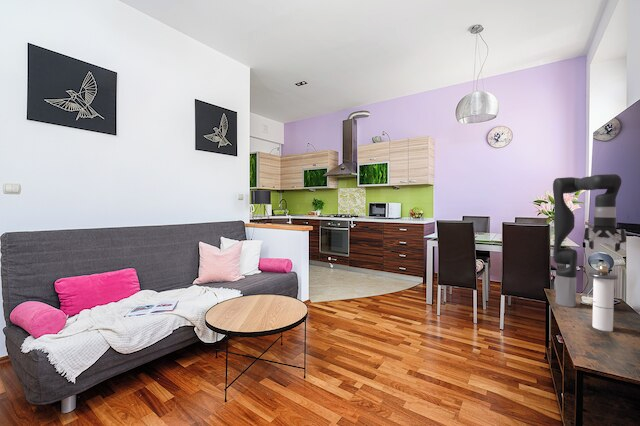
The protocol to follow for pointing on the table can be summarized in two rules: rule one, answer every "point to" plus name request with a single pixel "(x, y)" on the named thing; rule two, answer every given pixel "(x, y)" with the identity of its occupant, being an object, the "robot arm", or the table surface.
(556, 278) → the robot arm
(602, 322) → the cylindrical container
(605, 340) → the table surface
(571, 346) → the table surface
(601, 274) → the lid
